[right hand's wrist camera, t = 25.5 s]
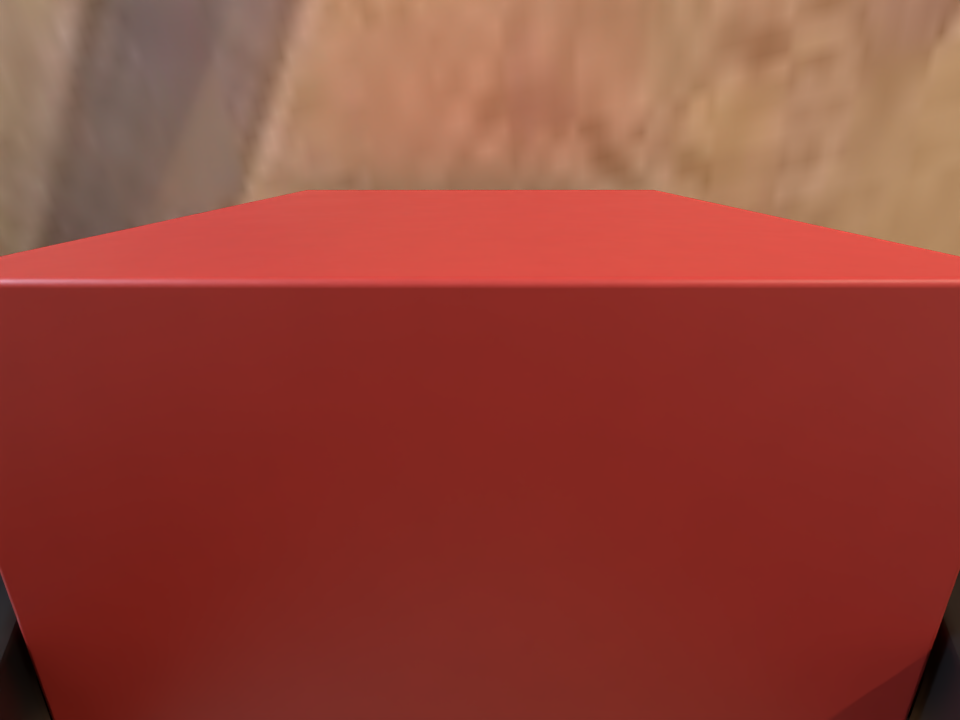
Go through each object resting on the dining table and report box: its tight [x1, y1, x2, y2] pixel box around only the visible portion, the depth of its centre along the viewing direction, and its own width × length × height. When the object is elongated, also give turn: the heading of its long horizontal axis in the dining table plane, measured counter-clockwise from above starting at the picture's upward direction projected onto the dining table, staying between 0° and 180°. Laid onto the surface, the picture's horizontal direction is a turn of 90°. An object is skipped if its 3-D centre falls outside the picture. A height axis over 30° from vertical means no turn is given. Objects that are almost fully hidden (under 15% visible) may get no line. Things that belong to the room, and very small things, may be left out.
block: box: [0, 190, 960, 720], centre depth 11 cm, size 9×9×10 cm
